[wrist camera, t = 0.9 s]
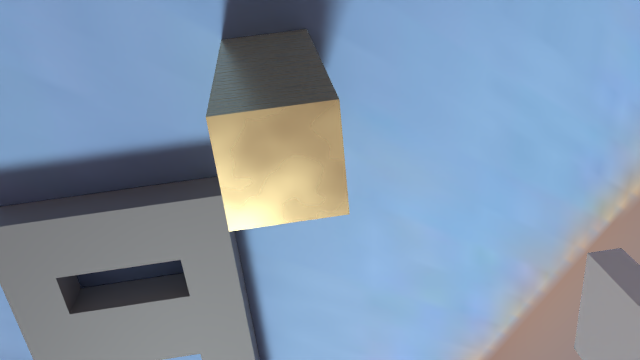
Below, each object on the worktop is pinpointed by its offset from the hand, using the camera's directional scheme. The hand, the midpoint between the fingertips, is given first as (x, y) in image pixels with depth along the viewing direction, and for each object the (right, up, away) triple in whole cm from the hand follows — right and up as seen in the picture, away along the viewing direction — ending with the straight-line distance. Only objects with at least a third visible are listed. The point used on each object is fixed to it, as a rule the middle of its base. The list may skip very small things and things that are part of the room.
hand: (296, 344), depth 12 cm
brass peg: (-2, +9, +18) cm, 21 cm away
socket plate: (-11, -5, +24) cm, 27 cm away
